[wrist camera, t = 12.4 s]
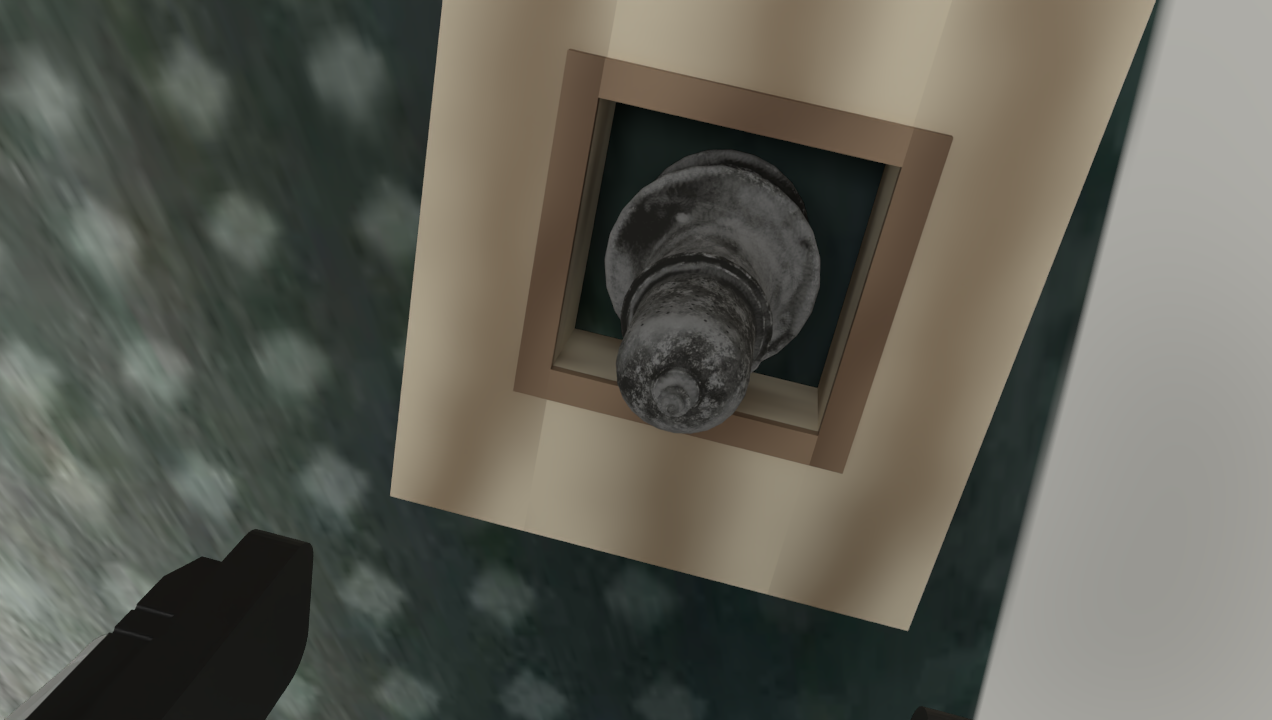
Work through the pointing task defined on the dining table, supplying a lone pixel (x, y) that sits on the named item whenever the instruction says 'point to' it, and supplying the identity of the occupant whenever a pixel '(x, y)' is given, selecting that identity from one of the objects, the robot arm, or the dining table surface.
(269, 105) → the dining table surface
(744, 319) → the dark grey tall piece
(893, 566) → the birch frame
